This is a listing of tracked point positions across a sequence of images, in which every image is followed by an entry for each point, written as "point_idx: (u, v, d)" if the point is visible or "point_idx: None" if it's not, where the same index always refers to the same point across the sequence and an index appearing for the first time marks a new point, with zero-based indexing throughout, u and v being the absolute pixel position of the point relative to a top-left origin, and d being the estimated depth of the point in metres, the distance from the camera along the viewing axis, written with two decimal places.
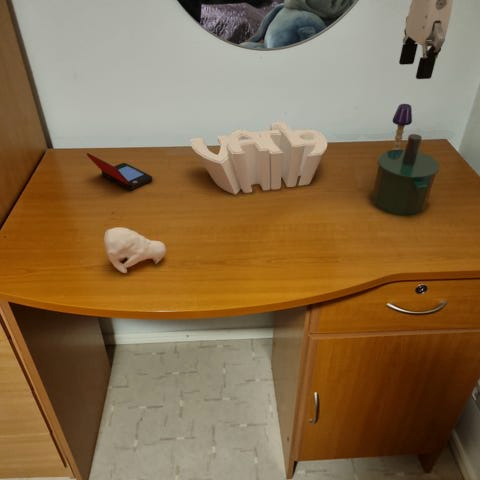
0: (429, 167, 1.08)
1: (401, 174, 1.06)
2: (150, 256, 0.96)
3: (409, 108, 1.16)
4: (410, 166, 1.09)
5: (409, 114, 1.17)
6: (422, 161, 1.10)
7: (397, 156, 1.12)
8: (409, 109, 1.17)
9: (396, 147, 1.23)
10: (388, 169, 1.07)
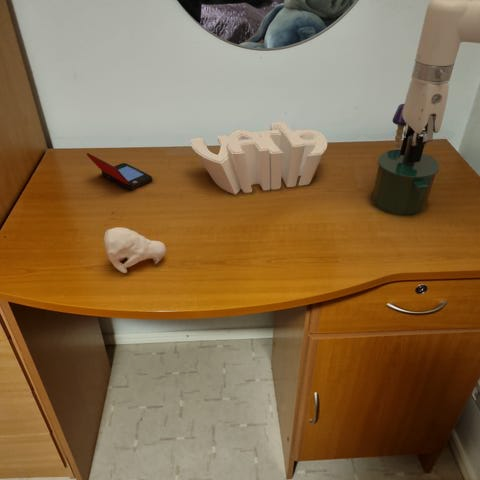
0: (429, 167, 1.08)
1: (401, 174, 1.06)
2: (150, 256, 0.96)
3: None
4: (410, 166, 1.09)
5: None
6: (422, 161, 1.10)
7: (397, 156, 1.12)
8: None
9: (396, 147, 1.23)
10: (388, 169, 1.07)
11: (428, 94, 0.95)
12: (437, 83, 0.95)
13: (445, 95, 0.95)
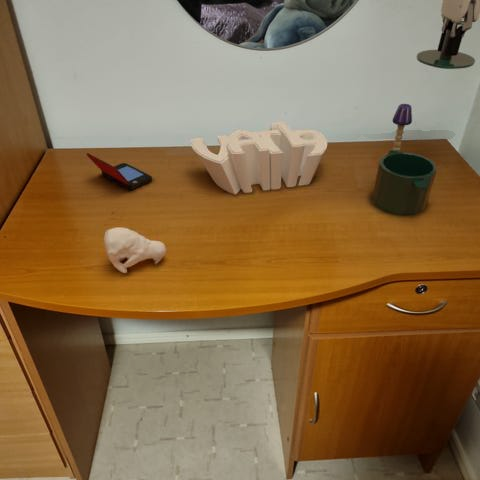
0: (465, 60, 1.16)
1: (440, 65, 1.13)
2: (150, 256, 0.96)
3: (409, 108, 1.16)
4: (447, 60, 1.16)
5: (409, 114, 1.17)
6: (459, 57, 1.18)
7: (434, 54, 1.19)
8: (409, 109, 1.17)
9: (396, 147, 1.23)
10: (427, 62, 1.15)
11: None
12: None
13: None
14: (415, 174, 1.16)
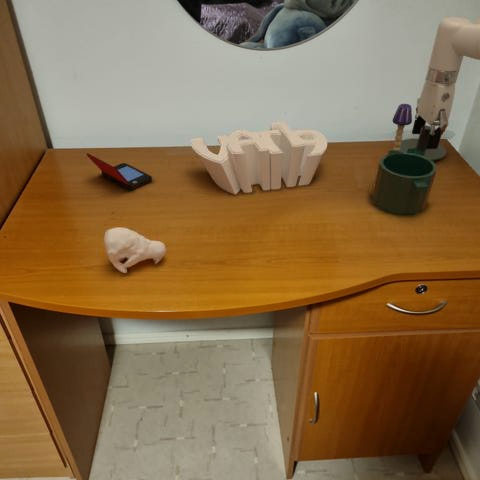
0: (438, 152, 1.34)
1: None
2: (150, 256, 0.96)
3: (409, 108, 1.16)
4: (422, 151, 1.34)
5: (409, 114, 1.17)
6: None
7: (411, 144, 1.37)
8: (409, 109, 1.17)
9: (396, 147, 1.23)
10: None
11: (439, 93, 1.21)
12: (446, 85, 1.20)
13: (452, 94, 1.21)
14: (415, 174, 1.16)
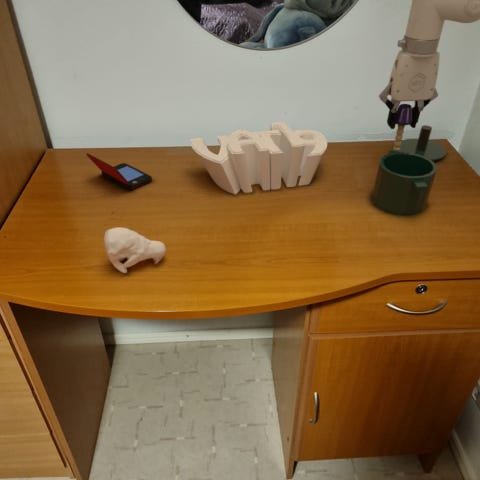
0: (438, 152, 1.34)
1: None
2: (150, 256, 0.96)
3: (409, 108, 1.16)
4: (422, 151, 1.34)
5: (409, 114, 1.17)
6: (432, 147, 1.36)
7: (411, 144, 1.37)
8: (409, 109, 1.17)
9: (396, 147, 1.23)
10: None
11: (396, 58, 1.11)
12: (402, 51, 1.08)
13: (399, 64, 1.09)
14: (415, 174, 1.16)
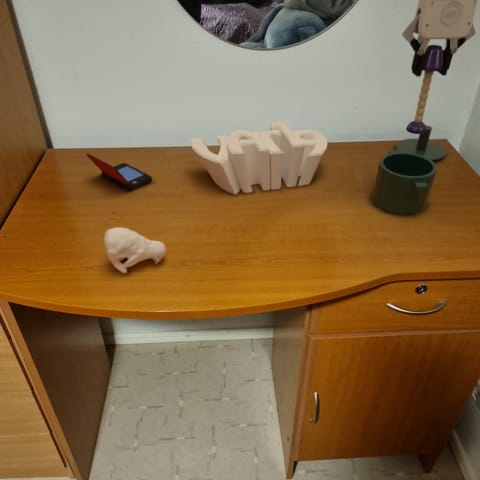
0: (438, 152, 1.34)
1: None
2: (150, 256, 0.96)
3: (440, 49, 0.95)
4: (422, 151, 1.34)
5: (440, 57, 0.95)
6: (432, 147, 1.36)
7: (411, 144, 1.37)
8: (440, 50, 0.95)
9: (422, 100, 1.02)
10: None
11: None
12: None
13: None
14: (415, 174, 1.16)
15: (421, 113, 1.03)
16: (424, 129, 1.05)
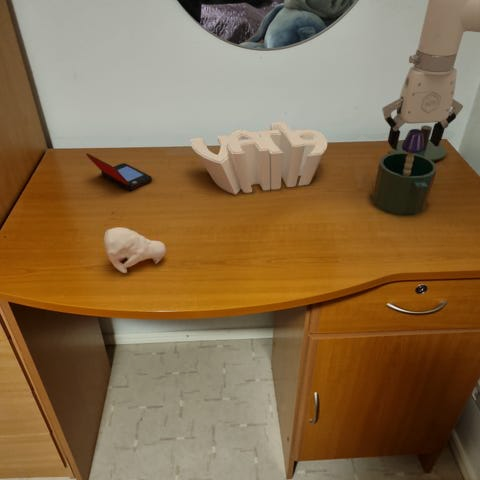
0: (438, 152, 1.34)
1: None
2: (150, 256, 0.96)
3: (421, 134, 1.04)
4: (422, 151, 1.34)
5: (420, 141, 1.05)
6: (432, 147, 1.36)
7: None
8: (421, 135, 1.04)
9: None
10: None
11: None
12: (414, 68, 0.96)
13: (411, 82, 0.96)
14: (415, 174, 1.16)
15: None
16: None
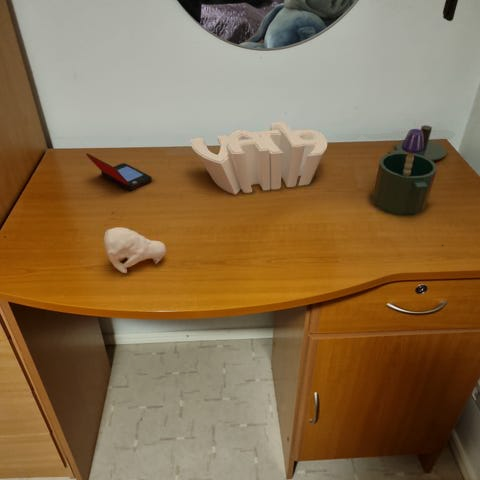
0: (438, 152, 1.34)
1: None
2: (150, 256, 0.96)
3: (421, 134, 1.04)
4: (422, 151, 1.34)
5: (420, 141, 1.05)
6: (432, 147, 1.36)
7: None
8: (421, 135, 1.04)
9: None
10: None
11: None
12: None
13: None
14: (415, 174, 1.16)
15: None
16: None
